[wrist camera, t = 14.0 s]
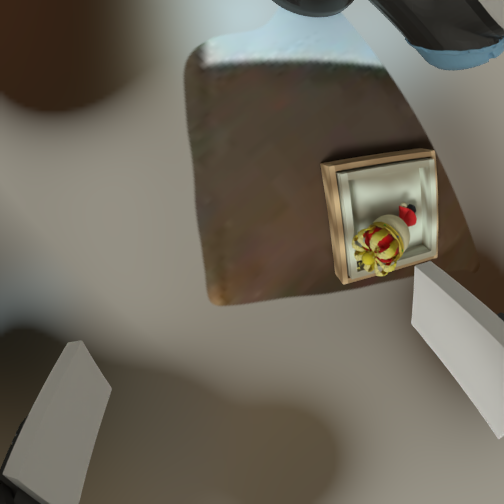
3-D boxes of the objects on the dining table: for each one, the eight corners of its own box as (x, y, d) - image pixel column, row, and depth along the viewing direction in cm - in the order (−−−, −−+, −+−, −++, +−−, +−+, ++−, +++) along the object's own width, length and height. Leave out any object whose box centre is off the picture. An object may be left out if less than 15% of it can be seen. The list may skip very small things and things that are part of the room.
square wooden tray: (320, 163, 43) (331, 167, 38) (420, 148, 43) (438, 151, 38) (335, 273, 50) (345, 287, 45) (425, 248, 50) (440, 259, 45)
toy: (392, 186, 44) (333, 238, 39) (432, 198, 39) (378, 258, 34) (395, 223, 48) (340, 277, 43) (431, 237, 43) (379, 299, 38)
